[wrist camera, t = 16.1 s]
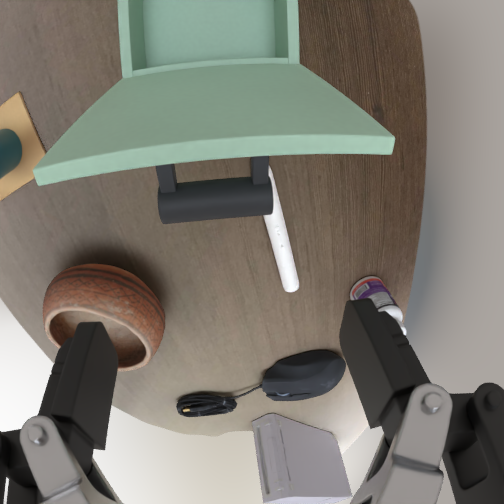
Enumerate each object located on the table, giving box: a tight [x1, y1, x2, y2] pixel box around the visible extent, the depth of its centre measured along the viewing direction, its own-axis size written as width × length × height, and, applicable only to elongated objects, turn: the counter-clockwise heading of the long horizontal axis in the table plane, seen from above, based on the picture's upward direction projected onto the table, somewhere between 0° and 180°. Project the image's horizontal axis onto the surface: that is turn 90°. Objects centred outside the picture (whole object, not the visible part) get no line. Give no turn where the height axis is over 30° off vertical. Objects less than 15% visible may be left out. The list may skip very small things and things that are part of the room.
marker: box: [263, 166, 299, 292], centre depth 36 cm, size 18×2×2 cm, turn 15°
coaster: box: [0, 91, 46, 201], centre depth 27 cm, size 10×10×1 cm
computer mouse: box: [176, 350, 346, 417], centre depth 52 cm, size 10×32×6 cm, turn 114°
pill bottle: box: [350, 276, 406, 336], centre depth 40 cm, size 5×5×10 cm
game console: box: [252, 413, 352, 504], centre depth 60 cm, size 6×27×20 cm, turn 43°
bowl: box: [43, 264, 165, 371], centre depth 35 cm, size 16×16×10 cm
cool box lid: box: [33, 64, 395, 224], centre depth 17 cm, size 15×14×5 cm
